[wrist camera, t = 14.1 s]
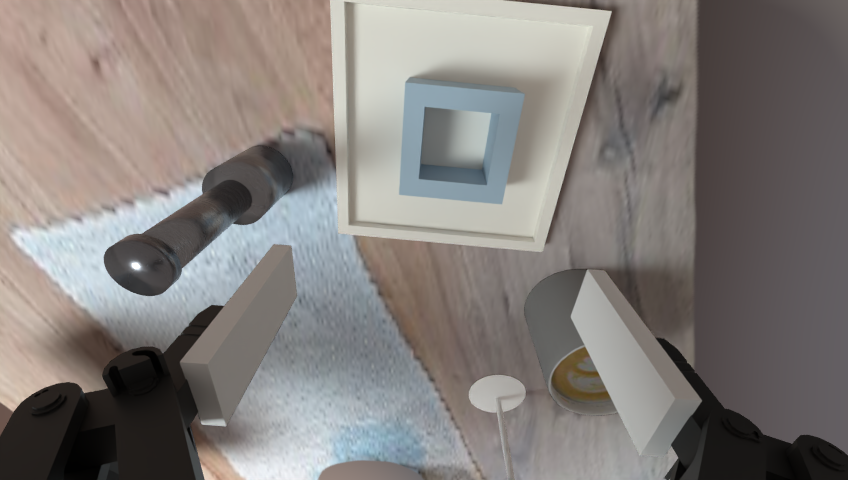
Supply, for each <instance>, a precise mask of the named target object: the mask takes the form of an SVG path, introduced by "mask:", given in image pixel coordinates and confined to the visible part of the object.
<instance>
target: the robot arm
mask: <svg viewBox="0 0 848 480" xmlns="http://www.w3.org/2000/svg"><path fill="white" fill-rule="evenodd" d="M296 297H297V291H296V282H295V273H294V265H293V256H292V248H291V246H289V245H276V244H274V245H273V246H272V247H271V248H270V250H269V251H268V252H267V253H266V255H265V256H264V257H263V258H262V260H261V261H260V262H259V263H258V265H257V266H256V267H255V268H254V270H253V271H252V272H251V273H250V275H249V276H248V277H247V278H246V280H245V281H244V282H243V283H242V285H241V286H240V287H239V288H238V290H237V291H236V292H235V293H234V295H233V296H232V297H231V298H230V300H229V301H228V302H227V303H226V305H225V306H217V305H211V306H210V307H208V308H207V309H205V310H203V311H202V312H200V313H199V314H198V315H197V316H196V317H195V318H194V319H193V320H192V322H191V323H190V324H189V326H188V327H186V328H185V330H184V331H183V332H182V333H181V336H178V338H177V339H176V340H175V341H174V342H173V343H172V344H171V346H170V347H169V348H168V349H167V350H166V351H165V352H164V354H162V352H161V351H160V349H157V348H155V347H140V348H136V349H132V350H129V351H127V352H125V353H123V354H120V355H119V356H117V357H116V358H115V359H113V360H112V361H110V363H109V364H108V365H107V366H106V367H105V368H104V371H103V375H102V377H103V379H104V381H105V383H106V385H107V387H108V389H105V390H99V391H94V392H88V393H84V392H83V391H82V389H81V388H80V386H79V385H78V384H75V383H70V382H66V383H58V384H55V385H52V386H49V387H46V388H43V389H41V390H40V391H38V392H36V393H34V394H32V395H31V396H29V397H28V398H27V399H25V400H24V401H23V402H21V404H20V405H19V406H18V407H17V408H16V410H15V411H14V412H13V414H12V416H11V418H10V420H9V422H8V423H7V425H6V427H5V429H4V430H3V432H2V434H1V436H0V480H204V476H203V472H202V468H201V464H200V460H199V457H198V453H197V449H196V445H195V441H194V437H193V433H192V430H191V427H190V424H191V422H192V421H193V419H194V418H195V416H196V415H197V413H198V416H199V419H200V422H201V424H202V425H213V426H227V424H228V422H229V420H230V418H231V417H232V415H233V413H234V411H235V409H236V407H237V406H238V404H239V402H240V400H241V398H242V396H243V395H244V393H245V391H246V389H247V387H248V385H249V384H250V382H251V380H252V378H253V376H254V374H255V372H256V371H257V369H258V367H259V365H260V363H261V361H262V360H263V358H264V356H265V354H266V352H267V350H268V349H269V347H270V345H271V343H272V341H273V339H274V338H275V336H276V334H277V332H278V330H279V328H280V326H281V325H282V323H283V321H284V319H285V317H286V315H287V314H288V312H289V310H290V308H291V306H292V304H293V303H294V301H295V299H296ZM571 319H572V321H573V323H574V325H575V327H576V329H577V331H578V333H579V335H580V337H581V339H582V341H583V343H584V345H585V347H586V349H587V351H588V353H589V355H590V357H591V359H592V361H593V363H594V365H595V367H596V369H597V371H598V373H599V375H600V377H601V379H602V381H603V383H604V385H605V387H606V389H607V391H608V393H609V395H610V397H611V399H612V401H613V403H614V405H615V407H616V409H617V411H618V413H619V415H620V417H621V419H622V421H623V423H624V425H625V427H626V429H627V431H628V433H629V435H630V437H631V439H632V441H633V443H634V445H635V447H636V449H637V451H638V453H639V455H640V456H649V457H664V456H665V455H666V453H667V452H668V450H669V449H670V447H671V446H672V447H673V449H674V451H675V453H676V454H677V456H678V459H677V461H676V462H675V464H674V465H673V466H672V468H671V469H670V470H669V472H668V473H667V475H666V476H665V479H666V480H669V479H670V480H848V455H847V454H845V453H844V452H843V451H842V450H840V449H839V448H837V447H836V446H834V445H833V444H831V443H829V442H827V441H825V440H823V439H820V438H818V437H814V436H810V435H800V436H799V437H798V438H797V439H796V440H795V441H794V443H793V444H791V443H788V442H785V441H781V440H779V439H776V438H772V437H769V436H766V435H763V434H762V433H761V431H760V430H759V428H758V427H757V426H755V425H754V424H753V423H752V422H751V421H750V420H748V419H747V418H745V417H744V416H742V415H741V414H739V413H736V412H734V411H732V410H729V409H725V408H724V407H723V406H722V405H721V403H720V402H719V401H718V400H717V398H716V397H715V396H714V395H713V393H712V392H711V391H710V390H709V388H708V387H707V386H706V385H705V383H704V382H703V381H702V379H701V378H700V377H699V376H698V374H697V373H695V372H694V369H693V368H692V367H691V366H690V364H688V363H687V361H686V359H685V358H684V357H683V356H682V354H681V353H680V352H679V351H678V349H676V348H675V347H674V346H673V345H671V344H670V343H669V342H668V341H666V340H665V339H662V338H655V337H654V336H653V334H652V333H651V332H650V330H649V329H648V328H647V326H646V325H645V324H644V322H643V321H642V320H641V318H640V317H639V316H638V314H637V313H636V312H635V310H634V309H633V308H632V306H631V305H630V304H629V302H628V301H627V300H626V298H625V297H624V296H623V294H622V293H621V292H620V290H619V289H618V288H617V286H616V285H615V284H614V282H613V281H612V280H611V278H610V277H609V276H608V274H607V273H606V272H605V270H593V269H587V272H586V274H585V277H584V280H583V283H582V286H581V289H580V291H579V294H578V297H577V300H576V303H575V306H574V308H573V311H572V314H571Z"/></svg>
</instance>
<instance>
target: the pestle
mask: <svg viewBox="0 0 848 480" xmlns="http://www.w3.org/2000/svg"><path fill="white" fill-rule="evenodd" d="M292 181H293V173H292V169H291V166H290V164H289V163H288V161H287V160H286V158H285V157H284V156H283V155H282V154H281V153H279V152H278V151H276V150H274V149H272V148H270V147H267V146H254V147H251V148H249V149H247V150H245V151H244V152H242V153H240V154H238V155H237V156H235V157H233V158H231V159H230V160H228V161H226V162H224V163H222V164H221V165H219V166H217V167H215V168H214V169H212V170H210V171H209V172H208V173H207V174H206V176H205V178H204V180H203V184H202V192H203V194H202V195H201V196H199V197H198V198H196V199H195V200H193V201H192V202H190V203H189V204H187V205H185V206H184V207H182V208H181V209H179V210H178V211H176V212H175V213H173V214H172V215H170V216H169V217H167V218H165V219H164V220H162V221H161V222H159V223H158V224H156V225H155V226H153V227H152V228H150V229H149V230H147V231H145V232H144V233H142V234H133V235H129V236H127V237H125V238H124V239H122V240H120V241H119V242H117V243H116V244H114V245H112V246H111V247H109V248H108V249H107V251H106V252H105V255H104V264H105V267H106V270H107V272H108V273H109V275H110V276H111V277H112V278H113V279H114V280H115V281H116V282H117V283H118V284H119V285H121V286H122V287H123V288H125V289H127V290H129V291H131V292H133V293H136V294H139V295H144V296H155V295H159V294H162V293H163V292H165V291H166V290H167V289H168V288H169V287H170V286H171V285H173V284H174V283H175V282H176V281H177V280H178V279H179V277H180V276H181V272H182V268H183V267H184V266H185V265H187V264H188V263H189V262H190V261H191V260H192V259H193V258H194V257H196V256H197V255H198V254H199V253H200V252H201V251H202V250H203V249H205V248H206V247H207V246H208V245H209V244H210V243H211V242H212V241H214V240H215V239H216V238H217V237H218V236H219V235H220V234H221V233H223V232H224V231H225V230H226V229H227V228H228V227H229V226H230V225H232V224H238V225H247V224H251V223H254V222H256V221H258V220H259V219H260V218H261V217H262V216H263V215H264V214H265V213H266V212H267V211H268V210H269V209H270V208H271V207H272V206H273V205H274V204H275V203H276V202H277V201H278V200H279V199H280V198H281V197H282V196H283V195H284V194H285V193H286V192H287V191H288V190H289V189H290V187H291V185H292Z"/></svg>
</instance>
